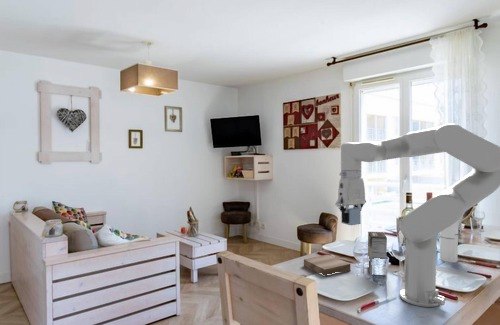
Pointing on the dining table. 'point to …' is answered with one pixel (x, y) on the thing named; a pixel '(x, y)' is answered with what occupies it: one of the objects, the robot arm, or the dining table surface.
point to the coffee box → (376, 247)
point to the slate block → (353, 216)
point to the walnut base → (326, 264)
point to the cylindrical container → (449, 243)
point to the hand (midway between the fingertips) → (351, 221)
